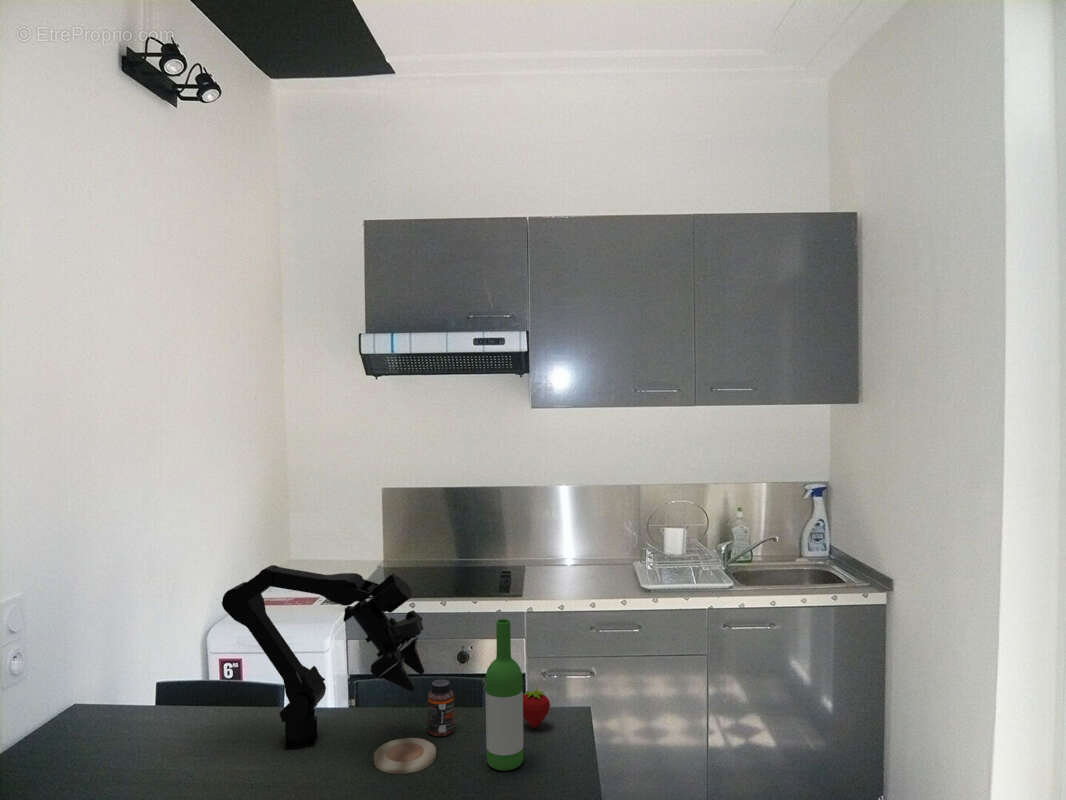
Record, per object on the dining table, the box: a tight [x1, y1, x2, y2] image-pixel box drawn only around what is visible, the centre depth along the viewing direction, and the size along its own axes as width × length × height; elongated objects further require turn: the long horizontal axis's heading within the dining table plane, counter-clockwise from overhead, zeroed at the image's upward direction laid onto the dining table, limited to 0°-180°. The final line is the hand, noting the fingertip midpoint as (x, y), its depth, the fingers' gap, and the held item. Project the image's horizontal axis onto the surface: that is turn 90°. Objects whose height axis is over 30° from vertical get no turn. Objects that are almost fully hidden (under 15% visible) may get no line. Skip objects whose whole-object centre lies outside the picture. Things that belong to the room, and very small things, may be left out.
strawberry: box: [523, 683, 551, 729], centre depth 170 cm, size 6×8×10 cm
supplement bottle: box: [427, 679, 455, 737], centre depth 169 cm, size 6×6×11 cm
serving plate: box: [373, 737, 437, 775], centre depth 157 cm, size 13×13×1 cm
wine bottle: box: [485, 618, 524, 772], centre depth 154 cm, size 8×8×30 cm
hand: (418, 681), depth 162 cm, fingers open, 9 cm apart
